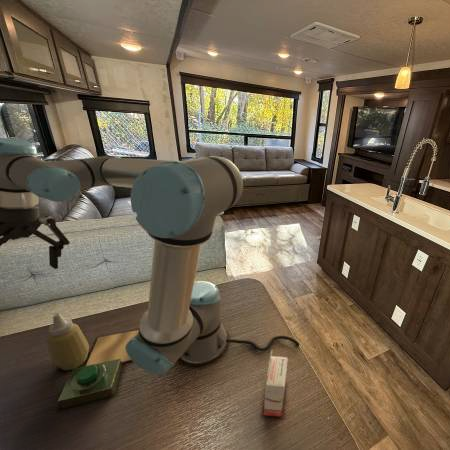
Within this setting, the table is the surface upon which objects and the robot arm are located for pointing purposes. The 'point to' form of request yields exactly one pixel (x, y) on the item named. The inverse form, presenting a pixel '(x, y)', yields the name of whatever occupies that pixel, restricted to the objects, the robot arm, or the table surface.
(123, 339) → the oak mat
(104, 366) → the green buzzer pad
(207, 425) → the table surface
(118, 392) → the table surface
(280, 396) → the ink cartridge box
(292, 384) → the table surface
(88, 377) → the button
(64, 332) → the squeeze bottle
